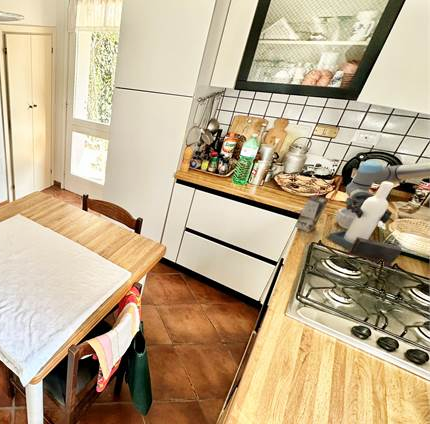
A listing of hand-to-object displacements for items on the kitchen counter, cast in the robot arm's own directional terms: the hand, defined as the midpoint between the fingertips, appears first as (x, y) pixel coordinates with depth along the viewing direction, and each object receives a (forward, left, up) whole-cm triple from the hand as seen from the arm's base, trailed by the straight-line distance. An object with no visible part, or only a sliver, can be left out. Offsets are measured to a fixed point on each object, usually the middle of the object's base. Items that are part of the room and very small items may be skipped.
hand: (373, 218), depth 134 cm
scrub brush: (-8, +3, -16) cm, 18 cm away
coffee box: (+21, +4, -17) cm, 27 cm away
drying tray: (+3, -4, -16) cm, 17 cm away
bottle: (+3, -4, -15) cm, 16 cm away
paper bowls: (+14, -19, -17) cm, 29 cm away
